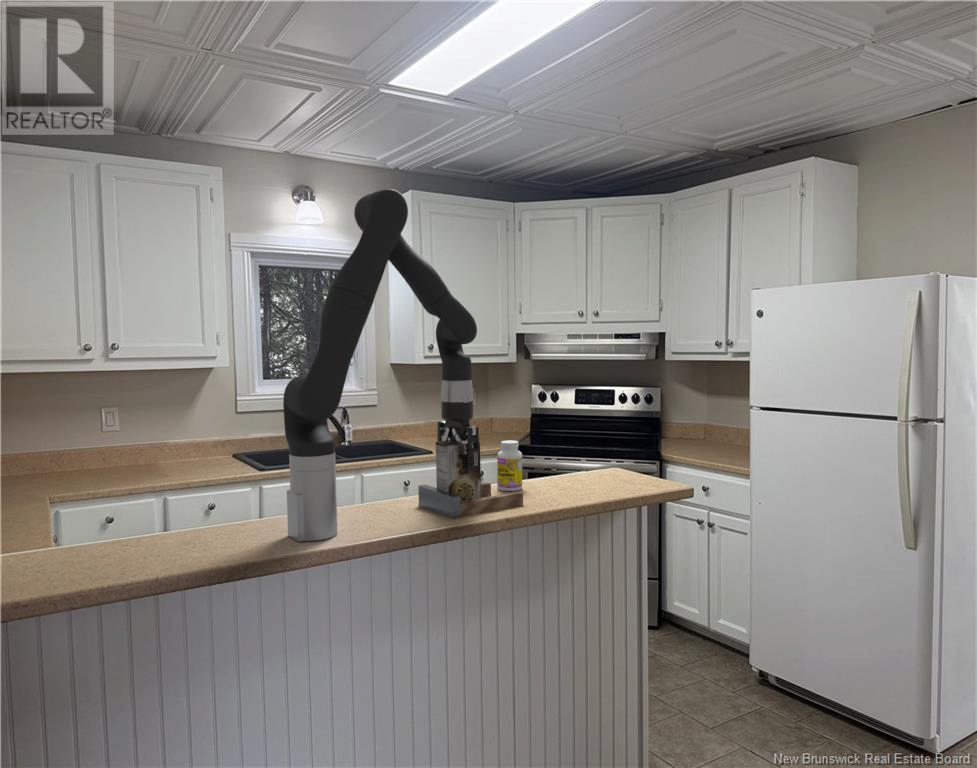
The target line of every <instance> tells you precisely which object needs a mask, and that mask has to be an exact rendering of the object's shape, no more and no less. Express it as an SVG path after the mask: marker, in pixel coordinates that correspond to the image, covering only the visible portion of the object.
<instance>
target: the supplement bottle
mask: <svg viewBox="0 0 977 768" xmlns="http://www.w3.org/2000/svg"><path fill="white" fill-rule="evenodd" d="M519 445H520V444H519V441H518V440H510V439H508V440H501V442H500V447H501V450H500V451H498V453H497V459H496V460H497V469H496V470H497V471H496V472H497V475H496V477H497V479H496V482H497V483H496V484H497V487H496V488H497V489H498V490H499V491H502V492H510V491H512V492H519V491H520V490H521V489H522V488H523V452H521V451H520V450H519Z"/></svg>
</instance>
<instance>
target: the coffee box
mask: <svg viewBox="0 0 977 768" xmlns="http://www.w3.org/2000/svg"><path fill="white" fill-rule="evenodd" d="M466 441H467V439H466ZM472 445H473V447H474V442H473V443H472ZM466 448H467V449H468V447H467V446H466ZM463 455H464V453H463V451H462V448H461V447H460V446H459V445H458V443H456V442H455V441H451V440H449V441H439V442H438V441H435V467H436V469H435V471H436V473H435V474H436V475H435V477H436V480H435V481H436V488H438V489H441V490H444V491H447V492H450V493H453V494H456V495H459V496H460V502H465V501H470V500H476V499H481V498H482V497H481V484H482V475H481V441H479V452H475V453H474V454H473V468H472V470H468V471H466V470H464V469H463Z"/></svg>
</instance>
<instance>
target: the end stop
mask: <svg viewBox="0 0 977 768" xmlns="http://www.w3.org/2000/svg"><path fill="white" fill-rule="evenodd" d="M417 488H418V490H417V491H418V507H420V506H421V508H422V507H423V509H425V508H426V509H425V510H427V511H430V510H431V511H430V512H434V513H435V514H438V515H442V516H443V517H446V518H449V519H452V520H456V518H457V519H460V518H462V517H460V496H459V495H456V494H453V493H450V492H447V491H444V490H441V489H438V488H437V487H434V486H431V485H428V484H421V485H418V487H417Z"/></svg>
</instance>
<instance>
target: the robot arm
mask: <svg viewBox="0 0 977 768" xmlns="http://www.w3.org/2000/svg"><path fill="white" fill-rule="evenodd" d="M353 215H354V220H355V223H356V224H357V226H358V228H359V229H360V230H361V232H362V233H361V236H360V238H359V241H358V243H357V245H356V247H355V248H354V250H353V251H352V253H351V254H350V256H349V257H348V259H346V260H345V262H344V264H343V265H342V267H341V268H340V269H339V271H338V272H337V274H336V276H335V277H334V280H333V281H332V283H331V285H330V288H329V290H328V293H327V296H326V298H325V301H324V304H323V305H322V306H323V307H322V311H321V315H320V316H321V317H320V330H319V331H320V332H319V333H320V334H319V344H318V349H317V352H316V355H315V357H314V359H313V362H312V364H311V367H310V369H309V371H308V372H307V374H301V375H300V374H299V375H298V376H295V377H294V378H292V379H290V381H289V382H288V383H287V385H286V387H285V389H284V391H283V392H284V393H283V407H282V408H283V423H284V435H285V440H286V442H287V446H288V455H289V456H288V458H289V489H287V490H286V506H287V507H286V509H287V510H286V511H287V512H286V513H287V514H286V516H287V536H288V537H290V538H292V539H293V540H295V541H296V542H298V543H300V542H314V541H316V542H317V541H321V540H327V539H330V538H333V537H336V536H337V534H338V513H337V512H338V510H337V509H338V508H337V503H338V502H337V475H336V474H337V473H336V472H337V470H336V468H337V467H336V464H337V463H336V441H335V438H334V437H333V435H332V433H331V431H330V428H329V424H328V419H329V418H331V417H332V416H333V415H334V414H335V413H336V411H337V409H338V407H339V406H340V402H341V399H342V395H343V392H344V388H345V387H344V386H345V385H346V381H347V375H348V372H349V368H350V366H351V365H350V364H351V361H352V359H353V356H354V354H355V351H356V349H357V346H358V344H359V342H360V338H361V335H362V332H363V330H364V327H365V325H366V322H367V320H368V318H369V315H370V312H371V309H372V306H373V303H374V302H375V298H376V295H377V292H378V289H379V286H380V284H381V281H382V279H383V275H384V272H385V270H386V268H387V263H388V262H389V263H390V264H391V265H392V266H393V267H394V269H396V271H397V272H398V273H399V275H400V276H401V277H402V278H403V280H404V281H405V283H406V284H407V285H408V287H409V288H410V289H411V291H412V292H413V294H414V295H415V297H416V298H417V300H418V301H419V303H420V304H421V306H422V307H423V308H424V310H425V311H426V313H428V314H429V315H430V316H435V317H436V318H438V319H439V320H438V322H437V324H436V328H435V339H436V344H437V348H438V349H437V350H438V353H439V357H440V360H441V380H442V381H441V388H440V394H441V395H440V397H441V398H440V405H441V407H440V408H441V419H442V421H438V422H437V442H439V441H449V440H451V441H455V442H456V443H458V445H459V446H460V447H461V448H462V451H463V453H464V455H463V469H464V470H466V471H468V470H472V468H473V454H474V453H475V452H479V442H480V439H479V435H480V434H479V431H480V430H479V426H477V425H474V426H471V425H470V420H472V419H473V418H474V389H473V388H474V387H473V381H472V380H473V375H472V374H473V371H472V369H473V367H472V366H473V364H472V360H471V357H470V356H468V355H467V354H465V352H464V349H463V345H467V344H470V343H472V342H473V341H475V339H476V337H477V333H478V326H477V323H476V321H475V318H474V317H473V315H472V314H471V313H470V311H468V310H467V308H466V307H465V306H464V305H463V304H462V303H461V302H460V301H459V300H458V299H457V298H456V297H455V296H454V295H453V294H452V293H451V291H450V290H449V289H448V287H447V285H446V284H445V282H444V280H443V279H442V277H441V276H440V275H439V273H438V272H437V271H436V269H435V268H434V267H433V265H431V264H430V263H429V262H428V261H427V260H426V259H424V257H422V256H421V255H420V254H419V253H418V252H417V251H416V250H414V248H413V247H412V246H411V245H410V244H409V243H408V242H407V241H406V239H405V238H404V236H403V235H402V233H403V230H404V228H405V226H406V224H407V220H408V216H409V209H408V203H407V200H406V198H405V197H404V195H403V194H402V193H401V192H400V191H399V190H396V189H392V188H384V189H383V188H382V189H379V190H377V191H374V192H372V193H369V194H366V195H364V196H363V197H360V198H359V200H358V201H357V202H356V204H355V206H354V213H353ZM466 439H467V441H466ZM473 442H474V447H473V445H472V443H473ZM466 446H467V447H468V449H467V448H466Z"/></svg>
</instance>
